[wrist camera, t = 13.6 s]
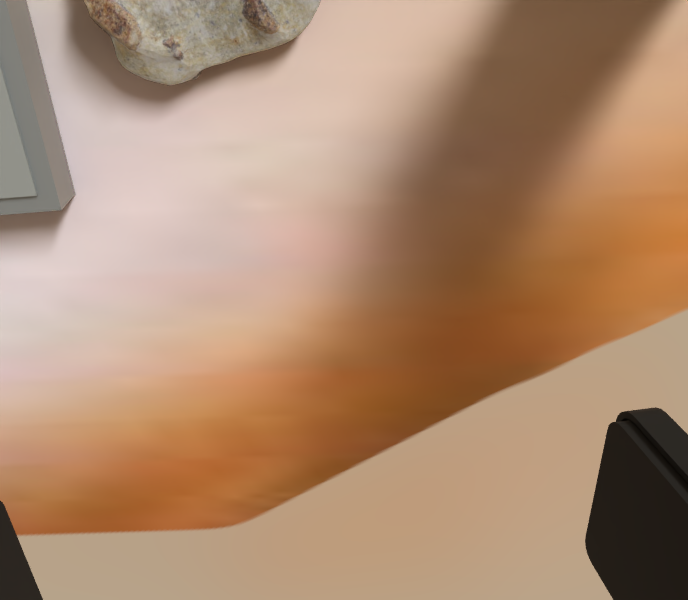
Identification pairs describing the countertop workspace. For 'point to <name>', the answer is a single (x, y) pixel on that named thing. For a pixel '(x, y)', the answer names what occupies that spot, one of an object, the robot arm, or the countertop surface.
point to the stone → (195, 32)
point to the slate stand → (27, 123)
